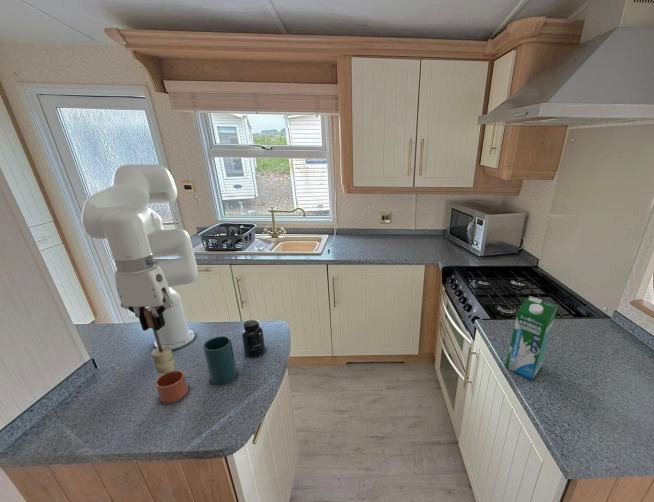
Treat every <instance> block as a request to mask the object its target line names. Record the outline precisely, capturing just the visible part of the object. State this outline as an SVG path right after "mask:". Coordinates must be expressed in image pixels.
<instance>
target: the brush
mask: <svg viewBox="0 0 654 502" xmlns="http://www.w3.org/2000/svg"><path fill="white" fill-rule="evenodd" d="M143 312H144V316H145V319H146V322H147V325H148V328H149V329H152V332H153V335H154V338H155V341H156V342H157V345H158V348H155V349H153V350H152V351H151V357H152V361H153V364H154V367H155V370H156V373H158V374H160V375H161V374H162V375H163V374H165V373H168V372H171V371H174V369H175V368H176V367H177V365H176V361H175V358H174V354H173V350H171V348H170V347H168V346H163V347H162V346H161V342H160V339H159V336H158V332H157V330H155V328H154V325H153V321H152V317H153V314H152V311H151V308H149V307H146V309H144V310H143Z"/></svg>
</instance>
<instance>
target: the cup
mask: <svg viewBox="0 0 654 502" xmlns="http://www.w3.org/2000/svg"><path fill="white" fill-rule="evenodd" d="M202 349H203V352H204V358H205V361H206V366H207V370H208V373H209V378H210V381H211V383H212V384H214V385H224V384H227V383H229V382H231V381H233V380H234V379H235V378H236V376H237V375H238V370H237V366H236V361H235V355H234V350H233V344H232V340H231V338H230V337H229V336H225V335H224V336H223V335H221V336H215V337H212V338H210V339H208V340H206V341H205V342H204V343H203V345H202Z"/></svg>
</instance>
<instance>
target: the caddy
mask: <svg viewBox="0 0 654 502" xmlns="http://www.w3.org/2000/svg"><path fill="white" fill-rule="evenodd" d="M154 386H155V389H156V392H157V395H158V398H159V400H160V402H161V403H166V404H169V403H174V402H177V401H179V400H181V399H182V398H184V397H185V396H186V395H187V393H189V392H188V391H189V386H188V382H187V378H186V376H185V372H184V371H182V370H172V371H170V372H167V373H163V374H162V375H160V376H159V377H157V379H155V383H154Z"/></svg>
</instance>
